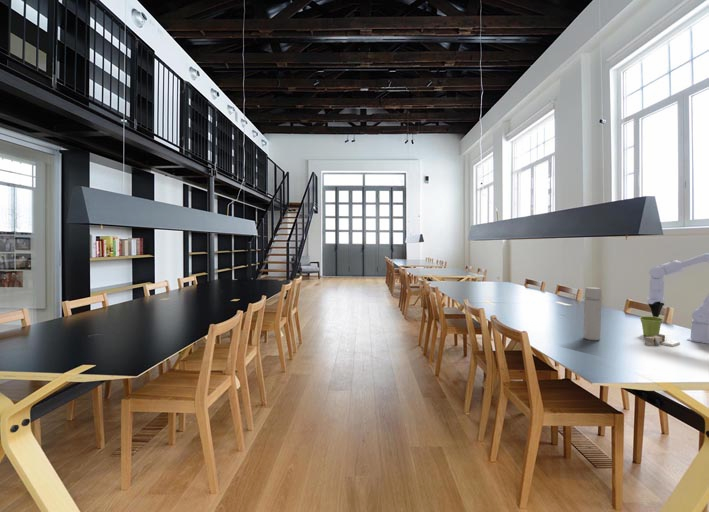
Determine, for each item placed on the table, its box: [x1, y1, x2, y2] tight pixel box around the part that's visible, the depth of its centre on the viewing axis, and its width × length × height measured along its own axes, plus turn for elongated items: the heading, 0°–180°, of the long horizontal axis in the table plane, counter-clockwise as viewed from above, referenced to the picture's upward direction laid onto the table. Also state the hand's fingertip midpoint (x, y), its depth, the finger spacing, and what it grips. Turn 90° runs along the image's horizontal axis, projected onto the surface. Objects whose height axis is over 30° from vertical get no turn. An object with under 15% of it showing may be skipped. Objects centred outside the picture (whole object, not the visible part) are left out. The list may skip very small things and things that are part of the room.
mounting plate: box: [661, 339, 681, 347], centre depth 181 cm, size 4×8×1 cm, turn 122°
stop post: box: [654, 337, 661, 346], centre depth 180 cm, size 2×2×4 cm
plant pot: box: [639, 316, 664, 337], centre depth 196 cm, size 9×9×9 cm
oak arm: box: [643, 333, 666, 346], centre depth 183 cm, size 12×3×4 cm, turn 114°
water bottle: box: [582, 286, 603, 341], centre depth 191 cm, size 9×8×25 cm
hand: (655, 316), depth 199 cm, fingers closed
